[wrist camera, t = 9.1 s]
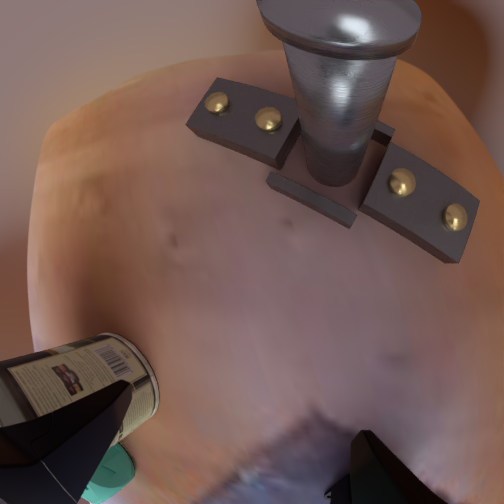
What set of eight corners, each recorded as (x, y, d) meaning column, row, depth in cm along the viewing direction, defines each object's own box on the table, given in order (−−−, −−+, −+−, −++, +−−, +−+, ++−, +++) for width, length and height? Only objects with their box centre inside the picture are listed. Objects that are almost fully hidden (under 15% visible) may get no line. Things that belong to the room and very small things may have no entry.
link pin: (377, 168, 18) (449, 19, 4) (329, 205, 19) (343, 66, 4) (336, 123, 19) (334, -43, 4) (289, 156, 20) (225, -4, 5)
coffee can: (89, 395, 24) (0, 434, 11) (88, 318, 24) (-26, 338, 11) (159, 436, 22) (70, 509, 8) (164, 354, 22) (34, 418, 8)
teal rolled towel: (144, 467, 22) (107, 501, 15) (122, 479, 24) (89, 506, 16) (99, 420, 24) (56, 445, 16) (83, 439, 25) (46, 460, 17)
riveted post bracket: (470, 190, 16) (488, 181, 13) (436, 281, 16) (453, 284, 14) (234, 79, 21) (224, 60, 18) (188, 151, 22) (171, 138, 19)
